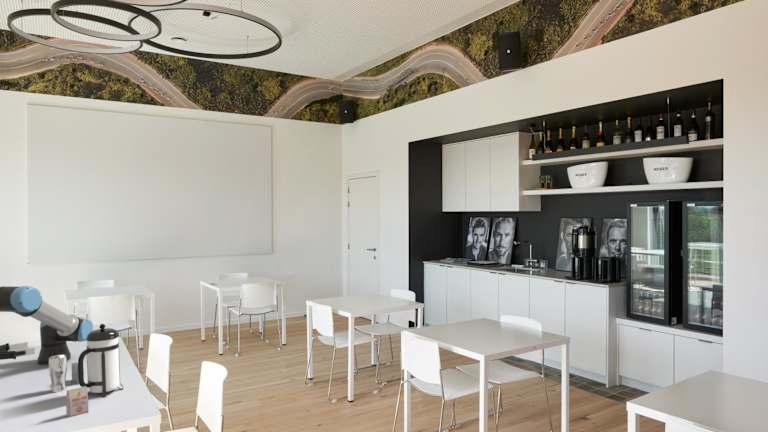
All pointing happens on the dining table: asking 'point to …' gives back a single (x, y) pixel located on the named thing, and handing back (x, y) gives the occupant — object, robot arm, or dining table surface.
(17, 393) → the dining table surface
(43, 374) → the dining table surface
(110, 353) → the coffee press
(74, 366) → the block
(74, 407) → the printed carton
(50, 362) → the beer glass
